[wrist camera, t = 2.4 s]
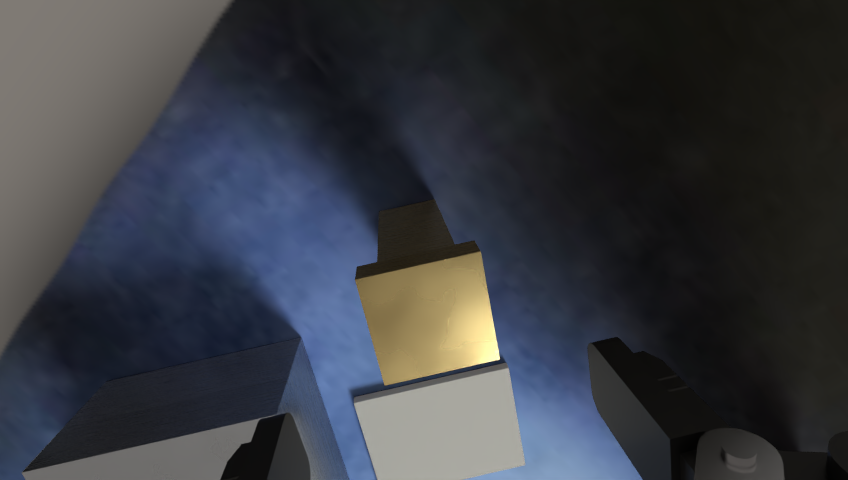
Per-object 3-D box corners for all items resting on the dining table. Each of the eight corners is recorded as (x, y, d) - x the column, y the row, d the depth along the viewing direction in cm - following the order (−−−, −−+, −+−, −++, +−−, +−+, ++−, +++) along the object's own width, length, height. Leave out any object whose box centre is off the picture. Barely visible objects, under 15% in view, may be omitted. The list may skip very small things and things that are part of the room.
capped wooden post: (442, 186, 26) (480, 251, 16) (457, 258, 28) (499, 359, 17) (365, 203, 26) (354, 279, 16) (384, 274, 28) (384, 385, 17)
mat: (506, 362, 30) (508, 367, 30) (522, 458, 33) (525, 464, 32) (354, 397, 30) (353, 403, 29) (383, 490, 33) (383, 497, 32)
